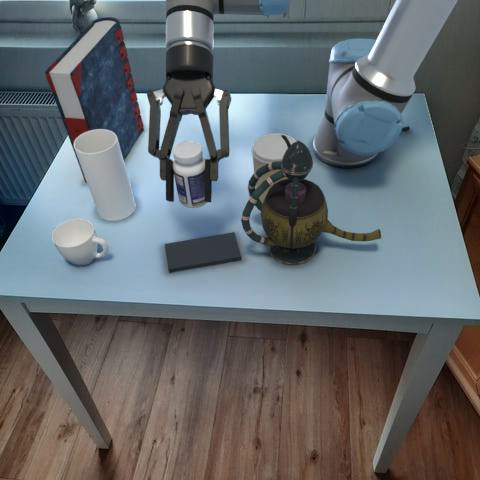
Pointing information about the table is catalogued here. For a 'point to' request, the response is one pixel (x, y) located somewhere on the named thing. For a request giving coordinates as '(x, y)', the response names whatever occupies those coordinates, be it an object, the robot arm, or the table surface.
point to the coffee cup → (269, 155)
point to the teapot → (292, 209)
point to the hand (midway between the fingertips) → (188, 200)
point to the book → (97, 85)
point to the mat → (202, 252)
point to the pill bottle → (189, 174)
